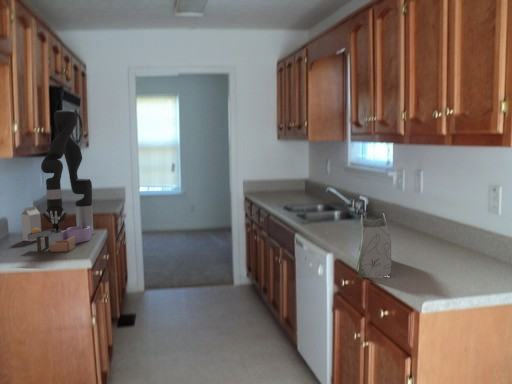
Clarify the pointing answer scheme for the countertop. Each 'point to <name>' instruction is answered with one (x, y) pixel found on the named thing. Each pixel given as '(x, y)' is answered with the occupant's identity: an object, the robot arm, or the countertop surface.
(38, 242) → the stand
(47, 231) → the tipping track
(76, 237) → the clip
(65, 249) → the cup
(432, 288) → the countertop surface
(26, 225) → the milk carton
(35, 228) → the ball
